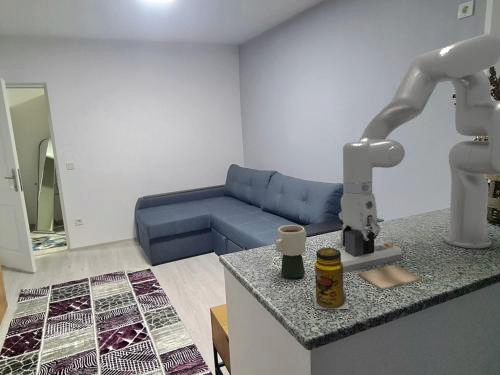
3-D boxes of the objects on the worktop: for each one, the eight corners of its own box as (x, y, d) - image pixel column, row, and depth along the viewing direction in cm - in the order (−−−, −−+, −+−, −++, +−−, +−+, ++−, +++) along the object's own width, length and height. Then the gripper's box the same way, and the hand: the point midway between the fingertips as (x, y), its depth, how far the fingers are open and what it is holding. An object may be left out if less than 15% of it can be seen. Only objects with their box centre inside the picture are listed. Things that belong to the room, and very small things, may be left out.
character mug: (297, 265, 94) (295, 221, 92) (316, 272, 89) (315, 226, 87) (269, 277, 88) (266, 230, 86) (287, 286, 82) (285, 236, 80)
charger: (361, 252, 96) (361, 228, 95) (371, 257, 92) (371, 232, 91) (345, 255, 94) (344, 231, 93) (354, 261, 90) (354, 236, 89)
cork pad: (394, 266, 90) (394, 264, 89) (421, 279, 81) (421, 278, 81) (357, 275, 86) (357, 273, 86) (381, 290, 77) (381, 288, 77)
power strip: (384, 251, 100) (384, 239, 100) (401, 259, 94) (401, 247, 93) (326, 263, 94) (326, 251, 94) (341, 272, 88) (340, 260, 87)
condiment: (314, 309, 71) (313, 257, 69) (312, 290, 80) (311, 243, 77) (349, 310, 70) (348, 257, 68) (343, 290, 79) (343, 242, 76)
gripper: (391, 191, 83) (391, 256, 86) (350, 182, 99) (350, 237, 102) (367, 194, 80) (367, 261, 83) (328, 184, 97) (329, 241, 100)
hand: (358, 247), depth 93 cm, fingers open, 8 cm apart
